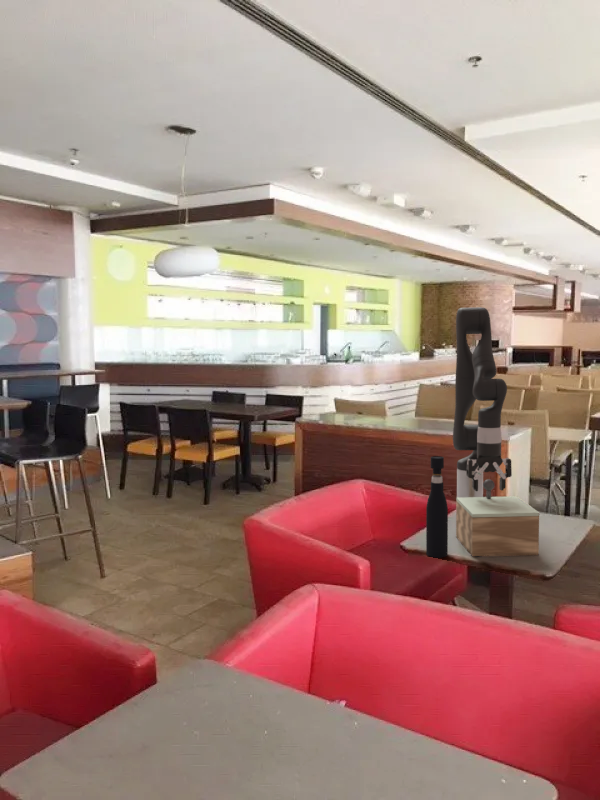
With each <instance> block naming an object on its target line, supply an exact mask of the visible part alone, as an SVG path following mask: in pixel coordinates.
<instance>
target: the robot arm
mask: <svg viewBox="0 0 600 800" xmlns="http://www.w3.org/2000/svg"><path fill="white" fill-rule="evenodd" d="M455 331H456V332H455V334H456V335H455V336H456V338H455V339H456V361H455V362H456V364H455V380H454V382H455V387H454V388H455V390H454V392H455V393H454V395H455V400H454V401H455V403H454V404H455V405H454V407H455V409H454V420H453V428H452V429H453V431H452V444H453V448H454V449H455V450H456V451H472V452H471V454H469V455H467V456H465V457H463V458H460V459H458V460H457V463H456V498H461V497H484V487H483V482H484V473H497V475H498V476H499V477H500V478H499V487H498V489H499V490H500V491H504V490H505V489H506V484H507V483H506V479H507V478H511V477H512V475H513V474H512V459H511V458H509V457H505V458H502V439H503V437H502V427H501V426H502V425H501V424H502V422H501V420H502V410H503V406H504V402H505V399H506V397H507V393H508V386H507V382H506V381H505V380H504V379H502V378H495V376H497V375H496V374H497V372H498V371H497V367H496V362H495V358H494V353H493V352H494V351H493V343H492V342H493V340H492V337H493V336H492V327H491V317H490V313H489V310H488V309H487V308H486V307H477V306H476V307H460V308H458V309H457V312H456V316H455ZM467 335H481V336H480V337H481V338H480V340H479V341H478V343H477V345H476V346H475V348H474V350H473V352H472V350H471V349H470V346H469V344H468V339H467V338H468V337H467ZM476 401H479V402H485V401H486V402H487V401H488V402H489V401H491V402H492V401H493V403H492V404H491V405H490V406H488V407H487V406H486V407H483V408H480V409H479V410H478V412H477V413H478V414H477V424H465V421H466V418H467V415H468V413H469V411H470V409H471V407H472V406H473V405H474V403H475V402H476ZM502 464H504V466H505V468H504V469H505V473H504V472H503V470H502V468H501V465H502Z"/></svg>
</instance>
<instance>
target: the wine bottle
mask: <svg viewBox="0 0 600 800" xmlns="http://www.w3.org/2000/svg"><path fill="white" fill-rule="evenodd" d="M444 462H445V461H444V456H441V455H432V456H430V469H432V476H431V482H430V492H429V495H428V498H427V502H426V509H425V511H426V512H425V513H426V515H425V516H426V521H425V523H426V524H425V525H426V527H425V529H426V531H425V532H426V533H425V536H426V537H425V539H426V541H425V545H426V547H425V548H426V550H425V551H426V556H429V557H430V558H436V559H437V558H446V557H447V556H448V553H449V551H448V549H449V547H448V545H449V544H448V542H449V541H448V539H449V537H448V536H449V535H448V534H449V529H448V528H449V526H448V523H449V522H448V521H449V516H448V515H449V508H448V507H449V506H448V502H447V498H446V496H445V492H444V482H443V481H444V480H443V479H444V478H443V476H442V474H443V473H442V470H443V469H444V464H445V463H444Z"/></svg>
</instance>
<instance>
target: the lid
mask: <svg viewBox="0 0 600 800" xmlns="http://www.w3.org/2000/svg"><path fill="white" fill-rule="evenodd" d="M494 488H495V482H494V481H493V480H492V479H490V478H487V479H485V480H483V489H484V490H486V495H485V496H483V497H461V498H457V497H455V499H456V500H455V501H457V502H458V503H459V504H460V505H461V506H462V507H463V508H464V509H465V510H466V511H467V512H468V513H469V514H470V515H471V516H472V517H512V516H539V517H540V511H538V510H537V509H535V508H534V507H533V506H531V505H530V504H529V503H527V502H526V501H524V500H523V499H521V498H520V497H519V496H518V495H517V496H515V495H514V496H513V495H512V496H511V495H509V496H492V490H493V489H494Z"/></svg>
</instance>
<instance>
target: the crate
mask: <svg viewBox="0 0 600 800" xmlns="http://www.w3.org/2000/svg"><path fill="white" fill-rule="evenodd" d="M455 501H456V500H455ZM455 505H456V508H455V511H456V515H455V516H456V518H455V521H456V522H455V523H456V524H455V525H456V527H455V528H456V529H455V533H456V534H455V535H456V536H455V537H456V539H458V541H459V542H460V544H462V546H463V547H464V548H465V550H466V549H467V550H466V551H467V552H468V554H469V555H470V554H471V555H472V556H482V557H510V556H511V557H513V556H514V557H515V556H516V557H517V556H522V557H523V556H539V551H540V550H539V545H540V515H539V516H512V517H472V516H471V515H470V514H469V513H468V512H467V511H466V510H465V509H464V508H463V507H462V506H461V505H460V504H459V503H458V502H457V501H456V504H455ZM471 555H470V556H471ZM472 556H471V557H472Z"/></svg>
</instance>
